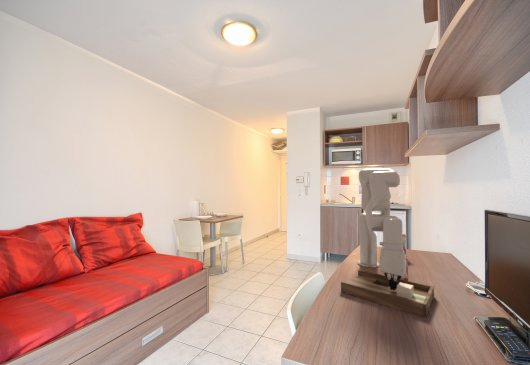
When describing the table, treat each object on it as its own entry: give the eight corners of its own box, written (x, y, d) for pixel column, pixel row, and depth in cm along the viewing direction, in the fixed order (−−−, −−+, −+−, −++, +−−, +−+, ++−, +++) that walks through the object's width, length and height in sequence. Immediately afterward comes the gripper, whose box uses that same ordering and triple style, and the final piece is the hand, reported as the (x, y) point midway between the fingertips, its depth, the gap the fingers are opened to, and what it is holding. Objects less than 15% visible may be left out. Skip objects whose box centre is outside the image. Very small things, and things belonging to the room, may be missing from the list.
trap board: (358, 278, 124) (358, 269, 124) (434, 296, 103) (433, 286, 103) (340, 292, 108) (340, 282, 108) (426, 317, 87) (425, 305, 87)
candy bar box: (387, 257, 162) (386, 233, 163) (386, 255, 167) (386, 232, 167) (406, 259, 158) (405, 234, 158) (405, 257, 162) (404, 233, 163)
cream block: (400, 291, 104) (399, 282, 104) (413, 295, 100) (413, 285, 100) (397, 295, 100) (396, 285, 100) (410, 299, 96) (410, 289, 97)
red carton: (410, 285, 115) (410, 258, 116) (394, 284, 117) (394, 257, 117) (405, 279, 122) (404, 254, 123) (389, 278, 124) (389, 253, 124)
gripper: (371, 245, 106) (372, 287, 106) (410, 251, 96) (411, 297, 96) (377, 242, 112) (377, 282, 111) (414, 247, 102) (415, 291, 101)
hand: (393, 289), depth 104 cm, fingers closed
